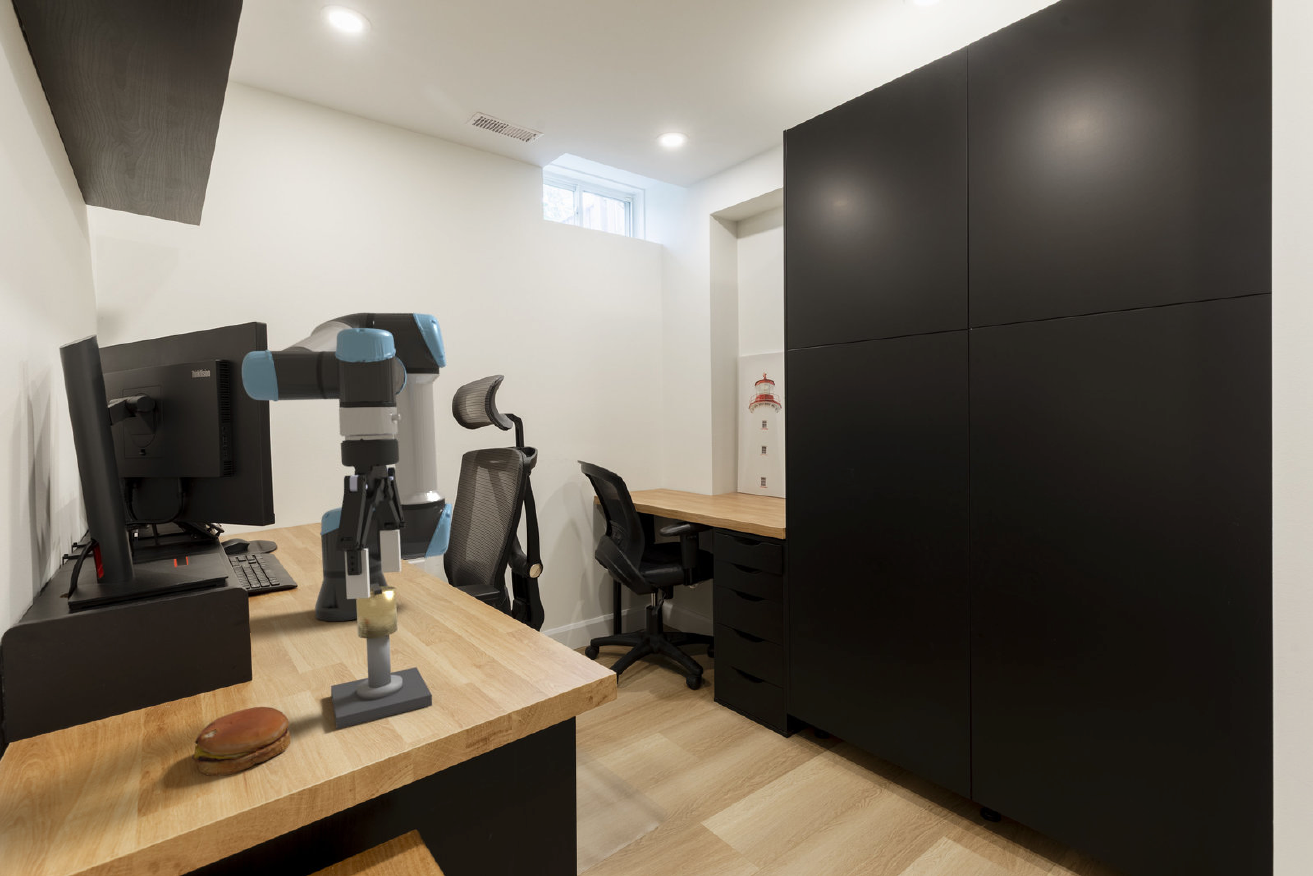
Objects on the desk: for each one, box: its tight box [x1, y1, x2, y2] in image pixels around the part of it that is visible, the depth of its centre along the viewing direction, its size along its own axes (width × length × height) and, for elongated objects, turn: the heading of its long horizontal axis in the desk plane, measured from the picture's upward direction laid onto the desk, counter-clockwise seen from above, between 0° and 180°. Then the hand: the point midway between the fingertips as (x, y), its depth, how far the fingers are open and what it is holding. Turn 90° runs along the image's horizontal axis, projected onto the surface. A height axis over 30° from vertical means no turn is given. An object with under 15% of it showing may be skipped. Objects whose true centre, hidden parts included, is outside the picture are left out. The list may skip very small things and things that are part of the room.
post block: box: [330, 635, 433, 730], centre depth 88 cm, size 12×12×10 cm
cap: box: [356, 583, 398, 639], centre depth 88 cm, size 5×5×7 cm
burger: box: [191, 706, 292, 777], centre depth 75 cm, size 10×9×5 cm
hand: (376, 584), depth 88 cm, fingers open, 13 cm apart
